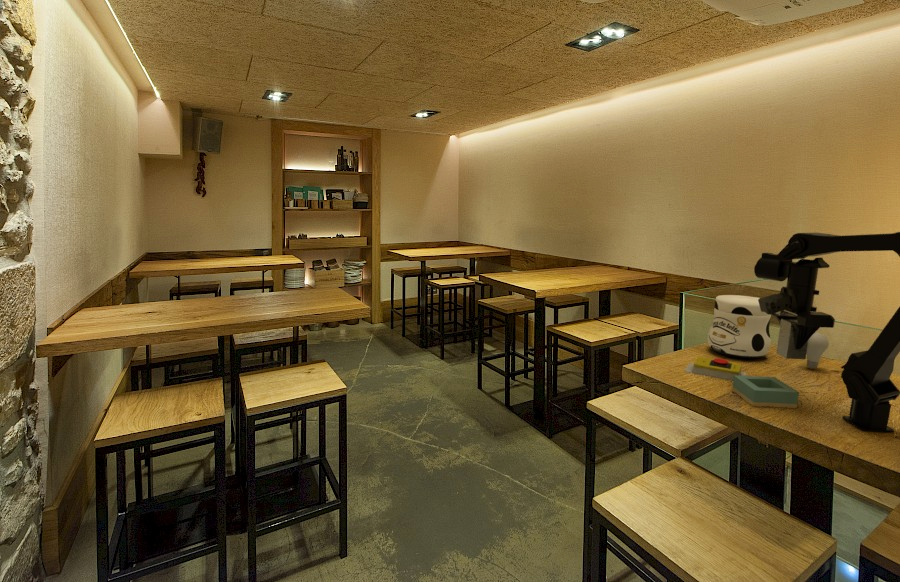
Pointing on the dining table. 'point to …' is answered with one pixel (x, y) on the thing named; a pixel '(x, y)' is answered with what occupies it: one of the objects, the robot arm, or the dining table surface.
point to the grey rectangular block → (789, 341)
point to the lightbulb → (816, 349)
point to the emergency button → (715, 368)
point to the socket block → (765, 391)
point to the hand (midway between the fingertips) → (792, 346)
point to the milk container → (739, 327)
